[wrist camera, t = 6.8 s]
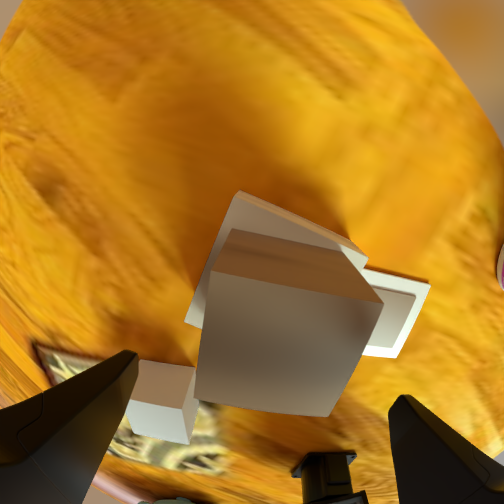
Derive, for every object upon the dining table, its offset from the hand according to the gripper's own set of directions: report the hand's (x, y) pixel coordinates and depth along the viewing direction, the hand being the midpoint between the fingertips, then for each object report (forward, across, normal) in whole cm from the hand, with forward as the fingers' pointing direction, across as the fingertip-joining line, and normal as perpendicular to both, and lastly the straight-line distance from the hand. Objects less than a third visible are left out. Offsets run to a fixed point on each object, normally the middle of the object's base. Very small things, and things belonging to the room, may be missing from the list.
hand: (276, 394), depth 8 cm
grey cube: (+12, +6, +13) cm, 19 cm away
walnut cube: (+8, 0, 0) cm, 8 cm away
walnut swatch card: (+12, -9, +2) cm, 15 cm away
